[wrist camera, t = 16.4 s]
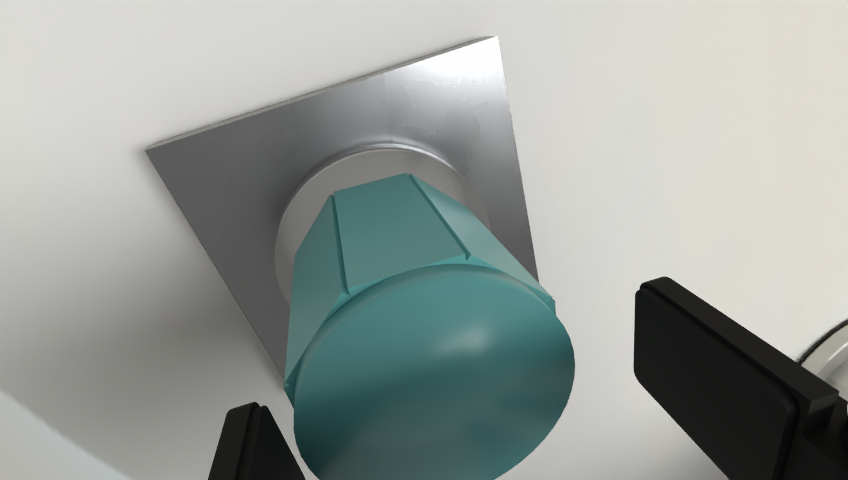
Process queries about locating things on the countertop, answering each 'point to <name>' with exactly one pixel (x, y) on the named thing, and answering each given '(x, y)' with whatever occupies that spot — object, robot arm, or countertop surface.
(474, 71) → the acorn nut on plate
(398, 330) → the cap
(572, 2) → the countertop surface
